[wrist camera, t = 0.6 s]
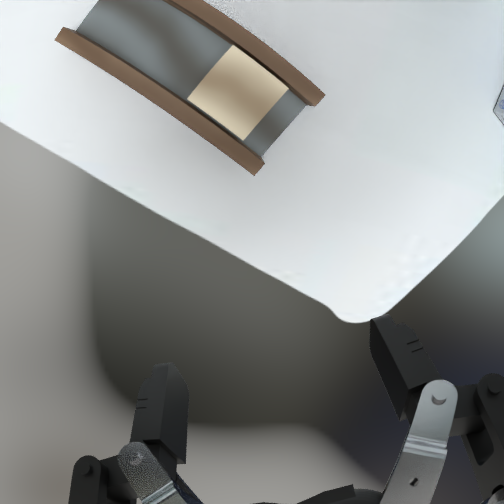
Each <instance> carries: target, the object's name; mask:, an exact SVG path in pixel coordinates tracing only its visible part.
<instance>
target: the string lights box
mask: <svg viewBox="0 0 504 504" xmlns="http://www.w3.org/2000/svg"><path fill="white" fill-rule="evenodd" d="M494 112H495V114H496V115H497V116H498V118H499V119H500V120H501V122H502V123H503V124H504V87H503V90H502V92H501V95H500V97H499V99H498V102H497V104H496V107H495V109H494Z"/></svg>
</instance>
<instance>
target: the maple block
mask: <svg viewBox="0 0 504 504" xmlns="http://www.w3.org/2000/svg"><path fill="white" fill-rule="evenodd" d="M288 89H289V88H288V87H287V86H286V85H284V84H283V83H282V82H281V81H279V80H278V79H277V78H276V77H275V76H273V75H272V74H271V73H270V72H268V71H267V70H266V69H265V68H263V67H262V66H261V65H259V64H258V63H257V62H256V61H254V60H253V59H252V58H250V57H249V56H248V55H246V54H245V53H244V52H242V51H241V50H240V49H238V48H237V47H235V46H234V45H232V46H231V48H230V49H229V50H228V51H227V52H226V53H225V54H224V55H223V56H222V58H221V59H220V60H219V61H218V62H217V63H216V64H215V66H214V67H213V68H212V69H211V70H210V71H209V73H208V74H207V75H206V76H205V77H204V79H203V80H202V81H201V82H200V83H199V85H198V86H197V87H196V88H195V90H194V91H193V92H192V93H191V95H190V96H189V97H188V98H187V100H189V101H190V102H192V103H193V104H194V105H196V106H197V107H199V108H200V109H201V110H203V111H204V112H206V113H207V114H208V115H210V116H211V117H212V118H214V119H215V120H217V121H218V122H219V123H221V124H222V125H223V126H225V127H226V128H227V129H229V130H230V131H231V132H233V133H234V134H235V135H237V136H238V137H239V138H240V139H242V140H244V139H245V138H246V137H247V136H248V135H249V133H250V132H251V131H252V130H253V129H254V127H255V126H256V125H257V124H258V123H259V122H260V120H261V119H262V118H263V117H264V116H265V115H266V114H267V112H268V111H269V110H270V109H271V108H272V107H273V106H274V104H275V103H276V102H277V101H278V100H279V99H280V98H281V97H282V96H283V94H284V93H285V92H286V91H287V90H288Z"/></svg>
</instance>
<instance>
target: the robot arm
mask: <svg viewBox="0 0 504 504" xmlns="http://www.w3.org/2000/svg"><path fill="white" fill-rule="evenodd" d="M369 347H370V352H371V356H372V358H373V361H374V363H375V365H376V368H377V370H378V371H379V374H380V376H381V379H382V381H383V383H384V386H385V388H386V391H387V393H388V395H389V397H390V400H391V402H392V405H393V407H394V409H395V412H396V414H397V417H398V419H399V421H402V420H404V419H408V422H409V424H410V427H409V430H408V433H407V435H406V438H405V441H404V444H403V447H402V449H401V452H400V454H399V457H398V459H397V462H396V464H395V466H394V469H393V471H392V473H391V475H390V478H389V480H388V482H387V484H386V487H385V489H384V491H383V493H381V492H377V491H374V490H368V489H354V487H353V484H352V485H348V486H344V487H341V488H337V489H333V490H329V491H325V492H322V493H320V494H318V495H316V496H313V497H311V498H309V499H307V500H304V501H302V502H300V503H297V504H430V501H431V499H432V496H433V493H434V491H435V488H436V485H437V482H438V479H439V477H440V474H441V471H442V468H443V464H444V461H445V458H446V454H447V448H446V445H447V441H448V437H450V436H457V435H461V438H462V440H463V443H464V446H465V448H466V451H467V454H468V456H469V459H470V462H471V465H472V468H473V471H474V474H475V476H476V479H477V482H478V485H479V489H480V492H481V495H482V498H483V502H482V503H481V504H504V377H503V376H501V375H499V374H492V373H491V374H487V375H485V376H484V377H482V379H481V380H480V381H479V383H478V384H472V385H465V386H455V385H452V384H451V383H450V382H448V381H445V380H443V379H442V378H441V376H440V375H439V373H438V372H437V369H436V367H435V366H434V364H433V362H432V361H431V359H430V357H429V356H428V354H427V353H426V351H425V349H424V348H423V345H422V344H421V342H420V341H419V339H418V337H417V336H416V334H415V332H414V331H413V329H411V328H410V327H408V326H407V325H406V324H404V323H401V324H398V325H395V323H394V321H393V320H392V318H391V316H390V315H389V314H386V315H383V316H379V317H376V318H373V319H371V320H370V339H369ZM188 408H189V390H188V387H187V384H186V383H185V381H184V379H183V378H182V376H181V374H180V373H179V371H178V370H177V368H176V367H175V365H174V364H173V363H164V364H157V365H155V366H154V367H153V371H152V377H151V378H146V379H145V381H144V382H143V384H142V385H141V387H140V389H139V394H138V401H137V405H136V410H135V415H134V421H133V427H132V432H131V439H130V442H129V443H128V444H126V445H125V446H124V447H123V448H122V449H121V450H120V452H119V454H118V455H116V456H113V457H110V458H107V459H103V460H100V461H99V460H98V459H97V458H95V457H93V456H89V455H88V456H84V457H81V458H80V459H79V460H78V461H77V462H76V463H75V465H74V469H73V475H72V481H71V488H70V496H69V504H136V499H137V498H140V500H141V502H142V504H204V503H203V502H201V500H200V499H199V498H198V497H197V496H196V495H195V493H194V492H193V491H192V490H191V489H190V488H189V486H188V485H187V484H186V483H185V482H184V480H183V479H182V478H181V477H180V476H179V474H178V473H177V472H176V468H177V464H186V446H187V445H186V444H187V426H188ZM256 504H277V503H265V502H263V503H256Z"/></svg>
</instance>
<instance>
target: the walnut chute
mask: <svg viewBox="0 0 504 504" xmlns="http://www.w3.org/2000/svg"><path fill="white" fill-rule="evenodd" d="M55 41H57V42H59V43H60V44H62V45H64V46H65V47H67V48H69V49H70V50H72V51H74V52H75V53H77V54H79V55H80V56H82V57H84V58H85V59H87V60H88V61H90V62H92V63H93V64H95V65H97V66H98V67H100V68H101V69H103V70H104V71H106V72H108V73H109V74H111V75H112V76H114V77H115V78H117V79H119V80H120V81H122V82H123V83H125V84H126V85H128V86H129V87H131V88H132V89H134V90H135V91H137V92H138V93H140V94H141V95H143V96H144V97H146V98H147V99H149V100H150V101H152V102H153V103H155V104H156V105H158V106H159V107H160V108H162V109H163V110H165V111H166V112H168V113H169V114H171V115H172V116H173V117H175V118H176V119H178V120H179V121H181V122H182V123H183V124H185V125H186V126H188V127H189V128H190V129H192V130H193V131H195V132H196V133H197V134H199V135H200V136H202V137H203V138H204V139H206V140H207V141H208V142H210V143H211V144H213V145H214V146H215V147H217V148H218V149H219V150H221V151H222V152H223V153H225V154H226V155H227V156H229V157H230V158H231V159H233V160H234V161H235V162H237V163H238V164H239V165H241V166H242V167H243V168H245V169H246V170H247V171H249V172H250V173H251V174H252V175H254V176H255V174H256V173H257V172H258V171H259V170H260V169H261V167H262V166H263V165H264V164H265V163H264V161H263V160H262V158H261V156H262V155H263V154H264V153H265V152H266V151H267V149H268V148H269V147H270V146H271V145H272V144H273V142H274V141H275V140H276V139H277V138H278V137H279V136H280V134H281V133H282V132H283V131H284V130H285V129H286V128H287V126H288V125H289V124H290V123H291V122H292V121H293V120H294V119H295V117H296V116H297V115H298V114H299V113H300V112H301V111H302V110H303V109H304V107H305V106H306V105H310V106H316V105H317V104H318V103H319V102H320V101H321V99H322V98H323V97H324V96H325V94H324V93H323V92H322V91H321V90H320V89H319V88H318V87H317V86H315V85H314V84H313V83H312V82H311V81H310V80H309V79H308V78H306V77H305V76H304V75H303V74H302V73H301V72H299V71H298V70H297V69H296V68H295V67H294V66H292V65H291V64H290V63H289V62H288V61H286V60H285V59H284V58H283V57H281V56H280V55H279V54H278V53H276V52H275V51H274V50H273V49H271V48H270V47H269V46H268V45H266V44H265V43H264V42H262V41H261V40H260V39H258V38H257V37H256V36H254V35H253V34H252V33H250V32H249V31H248V30H246V29H245V28H243V27H242V26H241V25H239V24H238V23H236V22H235V21H233V20H232V19H230V18H229V17H228V16H226V15H225V14H223V13H222V12H220V11H219V10H217V9H215V8H214V7H212V6H211V5H209V4H208V3H206V2H205V1H203V0H99V1H98V2H97V3H96V5H95V6H94V7H93V8H92V10H91V11H90V12H89V14H88V15H87V16H86V18H85V19H84V20H83V22H82V23H81V24H80V26H79V27H78V29H77V30H76V31H74V30H71V29H68V28H65V27H63V28H62V29H61V31H60V32H59V34H58V35H57V37H56V38H55ZM232 45H234V46H235V47H237V48H238V49H240V50H241V51H242V52H244V53H245V54H246V55H248V56H249V57H250V58H252V59H253V60H254V61H256V62H257V63H258V64H259V65H261V66H262V67H263V68H265V69H266V70H267V71H268V72H270V73H271V74H272V75H273V76H275V77H276V78H277V79H278V80H279V81H281V82H282V83H283V84H284V85H286V86H287V87H288V88H289V89H288V90H287V91H286V92H285V93H284V94H283V96H282V97H281V98H280V99H279V100H278V101H277V102H276V103H275V104H274V106H273V107H272V108H271V109H270V110H269V111H268V112H267V114H266V115H265V116H264V117H263V118H262V119H261V120H260V122H259V123H258V124H257V125H256V126H255V127H254V129H253V130H252V131H251V132H250V133H249V135H248V136H247V137H246V138H245V139H244V140H242V139H240V138H239V137H238V136H237V135H235V134H234V133H233V132H231V131H230V130H229V129H227V128H226V127H225V126H223V125H222V124H221V123H219V122H218V121H217V120H215V119H214V118H212V117H211V116H210V115H208V114H207V113H206V112H204V111H203V110H201V109H200V108H199V107H197V106H196V105H194V104H193V103H192V102H190V101H189V100H187V98H188V97H189V96H190V95H191V93H192V92H193V91H194V90H195V88H196V87H197V86H198V85H199V83H200V82H201V81H202V80H203V79H204V77H205V76H206V75H207V74H208V73H209V71H210V70H211V69H212V68H213V67H214V66H215V64H216V63H217V62H218V61H219V60H220V59H221V58H222V56H223V55H224V54H225V53H226V52H227V51H228V50H229V49H230V48H231V46H232Z"/></svg>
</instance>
